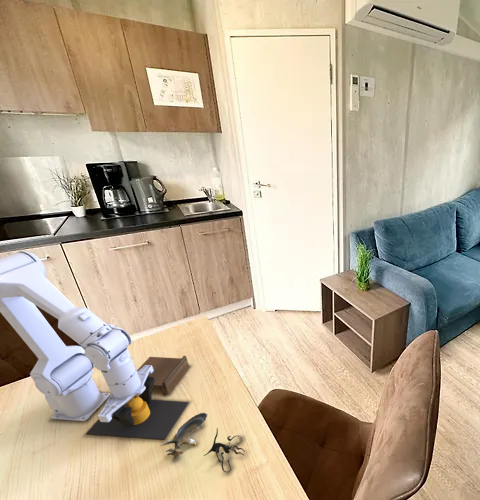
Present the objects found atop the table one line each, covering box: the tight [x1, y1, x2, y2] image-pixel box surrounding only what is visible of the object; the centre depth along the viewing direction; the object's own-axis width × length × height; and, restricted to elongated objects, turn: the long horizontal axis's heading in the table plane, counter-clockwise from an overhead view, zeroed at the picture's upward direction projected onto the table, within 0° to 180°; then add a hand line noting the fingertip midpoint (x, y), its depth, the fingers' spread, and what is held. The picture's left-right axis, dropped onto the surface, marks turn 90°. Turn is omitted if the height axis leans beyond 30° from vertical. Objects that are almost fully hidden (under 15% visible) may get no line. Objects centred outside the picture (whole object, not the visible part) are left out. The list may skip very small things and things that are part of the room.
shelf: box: [136, 355, 190, 396], centre depth 84 cm, size 12×10×5 cm
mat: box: [85, 399, 189, 441], centre depth 73 cm, size 20×10×1 cm, turn 86°
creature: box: [203, 428, 246, 473], centre depth 64 cm, size 8×5×8 cm
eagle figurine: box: [158, 412, 208, 460], centre depth 67 cm, size 8×7×9 cm
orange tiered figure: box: [126, 395, 150, 425], centre depth 72 cm, size 4×4×7 cm
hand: (138, 413), depth 73 cm, fingers open, 6 cm apart
